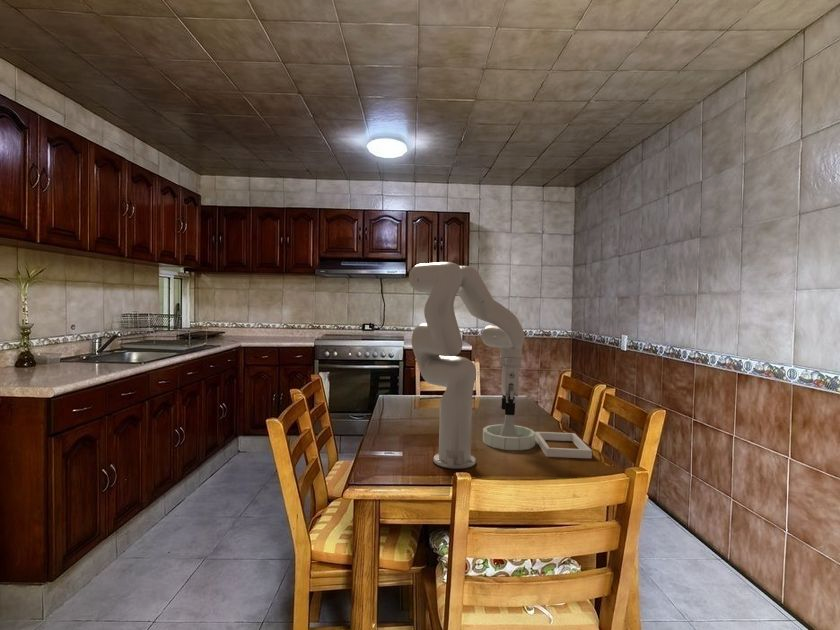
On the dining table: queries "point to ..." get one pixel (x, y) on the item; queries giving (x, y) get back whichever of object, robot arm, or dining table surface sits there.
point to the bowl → (509, 438)
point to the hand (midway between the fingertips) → (507, 412)
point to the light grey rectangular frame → (563, 452)
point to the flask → (508, 427)
